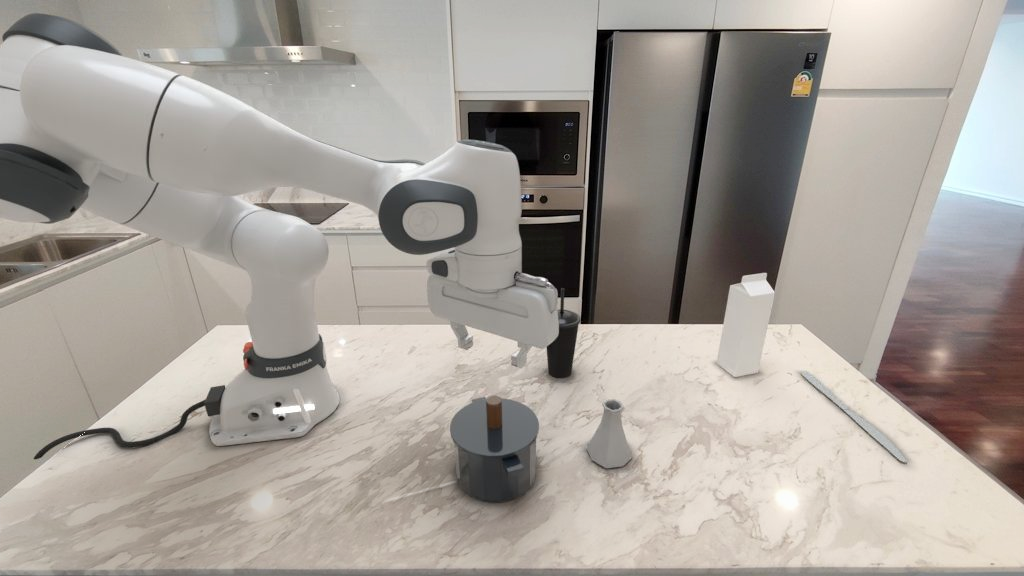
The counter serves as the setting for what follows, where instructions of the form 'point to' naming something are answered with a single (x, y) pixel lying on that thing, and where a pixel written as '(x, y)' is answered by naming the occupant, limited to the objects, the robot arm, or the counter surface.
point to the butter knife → (856, 418)
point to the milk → (745, 325)
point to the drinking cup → (563, 343)
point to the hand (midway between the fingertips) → (491, 356)
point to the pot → (496, 474)
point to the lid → (494, 428)
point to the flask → (610, 438)
